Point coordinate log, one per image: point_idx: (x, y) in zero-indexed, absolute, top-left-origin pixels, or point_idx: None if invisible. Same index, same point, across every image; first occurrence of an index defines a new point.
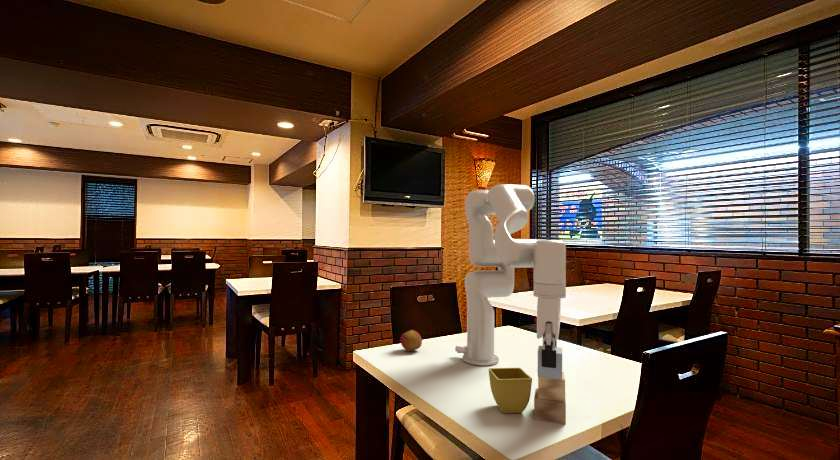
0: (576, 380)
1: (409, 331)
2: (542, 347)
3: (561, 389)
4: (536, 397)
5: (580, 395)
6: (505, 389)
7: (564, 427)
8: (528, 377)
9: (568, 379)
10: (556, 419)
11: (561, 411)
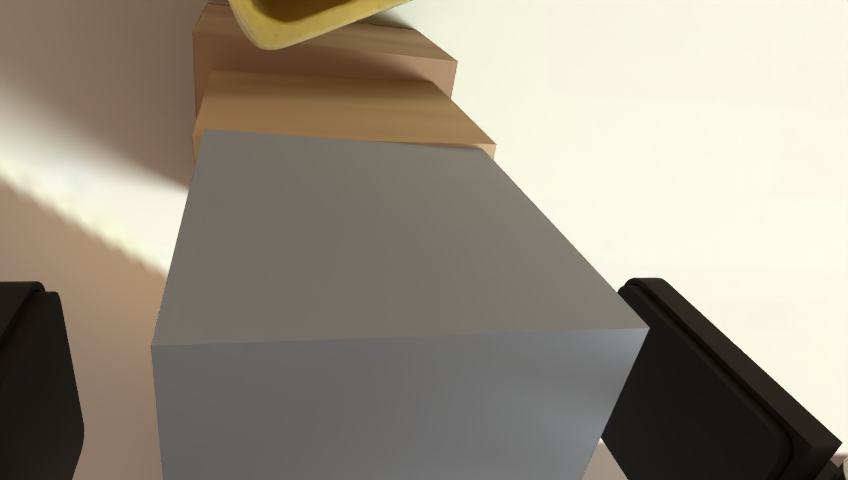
0: (795, 273)
1: None
2: (517, 392)
3: None
4: (230, 54)
5: (615, 283)
6: None
7: (162, 191)
8: (333, 4)
9: (815, 239)
10: None
11: None
